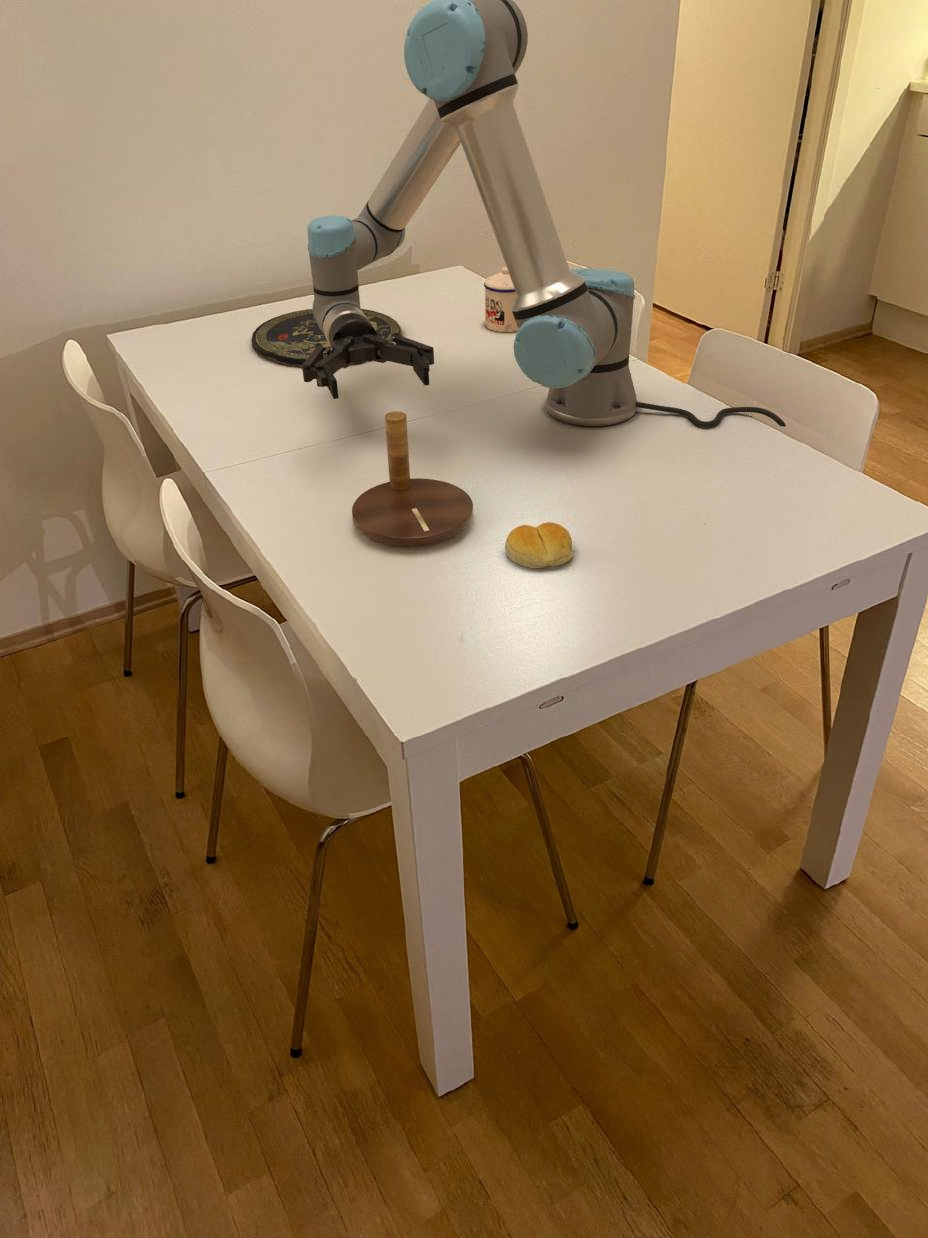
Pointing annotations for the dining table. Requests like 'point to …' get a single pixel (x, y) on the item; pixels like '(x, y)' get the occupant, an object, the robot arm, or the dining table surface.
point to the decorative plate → (305, 335)
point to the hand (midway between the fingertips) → (381, 383)
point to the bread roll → (539, 545)
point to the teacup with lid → (500, 302)
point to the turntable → (409, 499)
